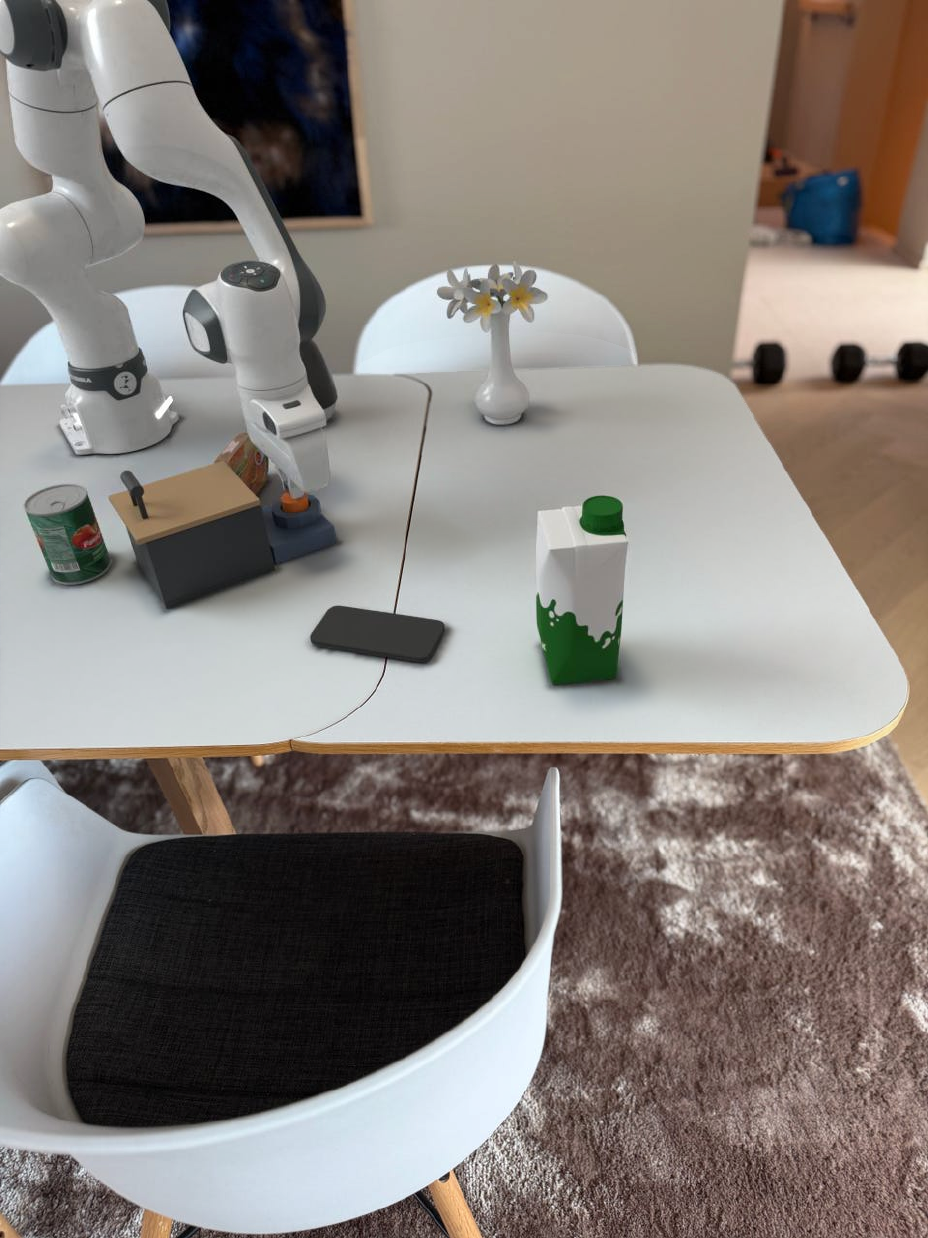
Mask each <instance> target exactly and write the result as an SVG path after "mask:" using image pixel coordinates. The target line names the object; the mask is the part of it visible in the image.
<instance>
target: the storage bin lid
mask: <svg viewBox="0 0 928 1238" xmlns="http://www.w3.org/2000/svg"><path fill="white" fill-rule="evenodd" d="M119 475H120V476H119V478H120V481H121V482H122V483H123V485H124V487H125V488H126V490H122V491H120V492H116V493H112V494H110V495H108V497H107V498H108V500H109V502H110V504H111V505H112V507H113V508H114V511H116V513H117V515H118V516H119V518H120V520H121V521H122V522H123V524H124V526H125V528H126V527H127V529H128V530H129V532H130V533H131V535H132V537H133V538H134V540H135V541H136V543H137V544H138V545H140V544H144V543H147V542H150V541H153V540H156V539H159V538H162V537H165V536H168V535H171V534H174V533H177V532H180V531H183V530H186V529H189V528H192V527H195V526H198V525H201V524H204V523H207V522H210V521H213V520H216V519H219V518H222V517H225V516H228V515H231V514H234V513H237V512H240V511H243V510H246V509H249V508H253V507H256V506H259V505H261V506H262V504H261V500H260V498H259V497H258V496H257V494H256V495H255V494H254V493H253V492H252V491H251V490H250V489H249V488H248V487H247V486H246V484H245V483H244V482H243V481H242V480H241V479H240V478H239V477H238V476H237V475H236V474H235V473H234V472H233V470H232V469H231V468H230V467H229V466H228V465H227V464H226V463H225V462H224V461H221V462H218V463H214V462H213V463H211V464H208V465H206V466H205V465H204V466H201V467H199V468H195V469H191V470H189V471H185V472H181V473H178V474H176V475H172V476H169V477H166V478H162V479H158V480H156V481H152V482H148V483H146V484H141V483H140V481H139V480H138V478H137V477H136V476H135V474H134V473H133V472H132V471H131V470H123V471H122V472H121V473H120V474H119ZM127 529H126V530H127Z"/></svg>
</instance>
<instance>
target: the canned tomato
mask: <svg viewBox="0 0 928 1238" xmlns="http://www.w3.org/2000/svg"><path fill="white" fill-rule="evenodd" d="M88 493H89V492H88V491H87V489H86V487H85V486H83V485H80V484H76V483H62V484H54V485H51V486H47V487H45V488H42V489H40V490H37V491H36V492H34V493H32V494H31V495H30V496H28V497H27V498H26V499H25V500H24V503H23V509H24V512H25V513H26V515H27V518H28V521H29V523H30V526H31V528H32V531H33V533H34V536H35V538H36V541H37V543H38V547H39V549H40V551H41V553H42V556H43V558H44V561H45V563H46V566H47V568H48V571H49V572H50V577H51V579H52V581H54V583H57V584H59V585H64V586H75V585H82V584H86V583H89V582H91V581H94V580H96V579H98V578H100V577H102V576H103V575H104V574H106V573H107V572H108V570H109V569H110V567H112V559H111V556H110V553H109V551H108V548H107V545H106V543H105V539H104V537H103V533H102V531H101V528H100V525H99V522H98V520H97V519H98V518H97V517H96V513H95V511H94V507H93V505H92V502H91V500H90V499H91V498H90V497H89V494H88Z"/></svg>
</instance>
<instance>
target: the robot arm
mask: <svg viewBox="0 0 928 1238" xmlns="http://www.w3.org/2000/svg"><path fill="white" fill-rule="evenodd" d="M170 31H171V16H170V10H169V4H168V1H167V0H0V54H1V56H3V57H4V58H5V65H6V78H7V88H8V97H9V98H8V99H9V105H10V112H11V120H12V128H13V135H14V136H13V137H14V143H15V145H16V148H17V150H18V151H19V154H20V155H21V156H22V158H23V159H24V160H25V161H26V162H27V163H28V164H29V165H30V166H32V167H33V168H35V169H36V170H38V171H41V172H42V173H44V174H47V175H50V176H51V179H52V188H51V191H49V192H47V193H44V194H40V195H37V196H33V197H29V198H25V199H21V200H17V201H14V202H12V203H9V204H7V205H5V206H3V207H1V208H0V277H2V278H3V279H4V280H5V281H8V282H10V283H11V284H14V285H16V286H19V287H21V288H22V289H25V290H26V291H28V292H29V293H31V294H32V295H33V296H34V297H35V298H37V299H38V301H39V302H40V303H41V304H42V305H43V307H45V309H46V310H47V312H48V313H49V315H50V317H51V318H52V321H53V322H54V325H55V327H56V329H57V332H58V334H59V337H60V340H61V342H62V344H63V348H64V350H65V353H66V356H67V360H68V361H67V372H68V376H69V379H70V383H71V384H70V386H69V387H68V389H67V390H66V391H65V394H64V398H65V401H66V403H64V404H62V405H59V409H60V412H61V415H62V417H63V418H61V419H60V420H59V426H60V429H61V430H62V433H63V434H64V436H65V437H66V440H67V441H68V443H69V445H70V446H71V448H72V450H73V451H74V454H76V455H79V456H83V455H92V454H106V455H115V454H124V453H131V452H135V451H139V450H142V449H145V448H148V447H151V446H153V445H156V444H157V443H159V442H161V441H162V440H164V439H165V438H166V437H167V436H168V435H169V434H170V432H171V431H172V427H173V426H174V425H175V424H176V423H177V422H178V421H179V420H180V416H179V414H178V412H176V411H173V410H170V409H169V406H170V405H171V404H172V402H173V397H172V396H169V397H168V398H167V399H166V397H165V395H164V392H163V389H162V386H161V383H160V381H159V378H158V377H157V376H155V375H154V374H151V373H149V372H148V370H149V369H148V366H147V360H146V357H145V354H144V352H143V349H142V348H141V347H139V344H138V341H137V337H136V335H135V330H134V327H133V323H132V319H131V315H130V312H129V308H128V307H127V305H126V304H125V302H124V301H122V299H120V298H119V297H118V296H116V295H115V294H113V293H111V292H108V291H105V290H102V289H98V288H95V287H94V286H93V285H92V283H91V282H90V279H89V277H88V273H87V269H88V268H90V267H92V266H95V265H98V264H101V263H104V262H108V261H110V260H113V259H116V258H118V257H120V256H122V255H124V254H126V252H128V251H130V250H131V249H133V248H134V247H135V246H137V245H139V244H140V243H141V242H142V240H143V238H144V235H145V231H146V230H145V229H146V221H145V219H146V218H145V215H144V214H145V213H144V210H143V209H142V205H141V204H140V202H139V201H138V198H137V197H136V196H135V195H134V194H133V192H132V191H131V190H130V189H128V187H126V186H125V185H123V184H122V183H120V182H119V181H118V180H117V179H115V178H114V176H113V175H112V173H111V172H110V169H109V168H108V165H107V162H106V160H105V157H104V152H103V146H102V137H101V129H100V127H101V126H100V118H99V117H100V115H99V105H100V108H101V111H102V113H103V116H104V119H105V121H106V125H107V127H108V129H109V132H110V133H111V136H112V138H113V140H114V142H115V144H116V146H117V148H118V150H119V151H120V153H121V155H122V156H123V158H124V160H126V162H128V164H130V165H131V166H132V167H134V168H135V169H136V170H138V171H139V172H140V173H142V174H143V175H145V176H147V177H149V178H152V179H153V180H157V181H158V182H161V183H165V184H170V185H174V186H179V187H186V188H190V189H195V190H199V191H202V192H205V193H208V194H210V195H212V196H215V197H216V198H218V199H220V200H222V201H223V202H224V203H225V204H226V205H227V206H228V207H229V208H230V209H231V210H232V211H233V213H234V214H235V217H236V218H237V220H238V222H239V224H240V226H241V228H242V229H243V231H244V233H245V236H246V238H247V240H248V241H249V243H250V245H251V247H252V249H253V251H254V253H255V254H256V256H257V258H258V260H244V261H238V262H235V263H231V264H229V265H227V266H225V267H224V268H223V269H222V270H221V271H220V272H219V274H218V276H217V279H215V280H214V281H211V282H207V283H204V284H202V285H199V286H198V287H196V288H193V289H191V291H189V293H188V294H187V297H186V299H185V302H184V305H183V309H182V318H183V323H184V328H185V331H186V335H187V338H188V341H189V344H190V345H191V348H192V349H193V350H194V351H195V352H196V353H198V354H199V355H201V356H203V357H204V358H206V359H208V360H211V361H212V362H215V363H219V364H221V365H225V364H231V365H232V366H233V368H234V371H235V384H236V388H237V389H236V390H237V393H238V399H239V403H240V407H241V411H242V416H243V418H244V423H245V429H246V433H248V435H249V438H250V440H251V442H252V443H253V444H254V445H255V446H256V447H257V448H258V449H259V450H261V451H262V452H263V453H264V454H265V455H266V456H267V457H268V460H270V461H271V462H272V464H274V466H275V470H276V471H277V473H278V475H279V478H280V480H281V483H282V489H283V490H284V491H285V493H286V492H287V493H288V494H289V495H290V496H291V497H292V498H293V499H296V498H299V497H302V496H303V495H304V493H306V494H309V493H313V492H316V491H319V490H321V489H324V488H326V487H328V486H329V484H330V481H331V468H330V459H329V458H330V457H329V450H328V444H327V439H326V435H325V433H324V430H323V427H325V426H327V421H326V417H325V413H324V411H323V409H322V408H321V406H320V405H319V403H318V402H317V400H316V399H315V397H314V395H313V393H312V390H311V387H310V385H309V384H308V380H307V374H306V369H305V366H304V364H303V362H302V360H301V357H300V352H299V346H300V342H304V341H309V340H311V339H312V340H314V338H315V337H316V335H317V334H318V331H319V330H320V328H321V326H322V324H323V322H324V319H325V316H326V311H327V304H326V303H327V302H326V298H325V295H324V291H323V289H322V287H321V285H320V283H319V281H318V278H317V277H316V275H315V274H314V273H313V271H312V269H310V267H309V265H308V264H307V263H306V261H305V260H304V258H303V257H302V255H301V254H300V252H299V250H298V249H297V245H296V244H295V242H294V240H293V238H292V236H291V235H290V233H289V230H288V229H287V227H286V225H285V223H284V221H283V219H282V217H281V215H280V213H279V212H278V210H277V207H276V205H275V203H274V201H273V199H272V197H271V195H270V193H269V192H268V189H267V187H266V186H265V184H264V182H263V180H262V178H261V176H260V175H259V172H258V171H257V169H256V167H255V165H254V164H253V162H252V159H251V158H250V156H249V154H248V153H247V151H246V150H245V148H244V147H243V146H242V144H241V143H240V141H239V140H238V139H237V138H236V137H234V136H232V135H230V134H227V133H225V132H224V131H222V129H220V128H219V127H218V125H216V123H215V122H214V121H213V120H212V119H211V118H210V115H208V113H207V112H206V111H205V109H204V107H203V106H202V104H201V103H200V101H199V99H198V97H197V95H196V92H195V89H194V87H193V84H192V82H191V79H190V76H189V74H188V71H187V69H186V66H185V63H184V61H183V59H182V57H181V55H180V52H179V50H178V47H177V45H176V44H175V42H174V40H173V37H172V35H171V34H170V33H171V32H170Z"/></svg>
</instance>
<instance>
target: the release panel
mask: <svg viewBox="0 0 928 1238" xmlns="http://www.w3.org/2000/svg"><path fill="white" fill-rule="evenodd" d="M306 494H307V498H308V503H309V508H307V509H306V510H304V511H302V512H299V513H286V512H284V511H283V508H282V503H281V497H280V498H279V499H277V500H276V501H274V502H273V503H272V504H269V505H266V506H262V507H261V508H262V513H263V517H264V522H265V526H266V531H267V535H268V540H269V544H270V549H271V553H272V558H273V562H274V564H275V565H279V564H281V563H285V562H287V561H290V560H292V559H296V558H299V557H301V556H304V555H306V554H309V553H312V552H314V551H315V552H316V551H317V550H320V549H323V548H326V547H328V546H332V545H334V544H337V537H336V531H335V526H334V525H333V524H332V523H331V522H330V521H329V520H328V519H327V518H326V517H325V516H324V515H323V513H322V507H321V506H322V505H321V501H320V500H319V499H318V498H317V497H316V495H314V494H309V493H306Z"/></svg>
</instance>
